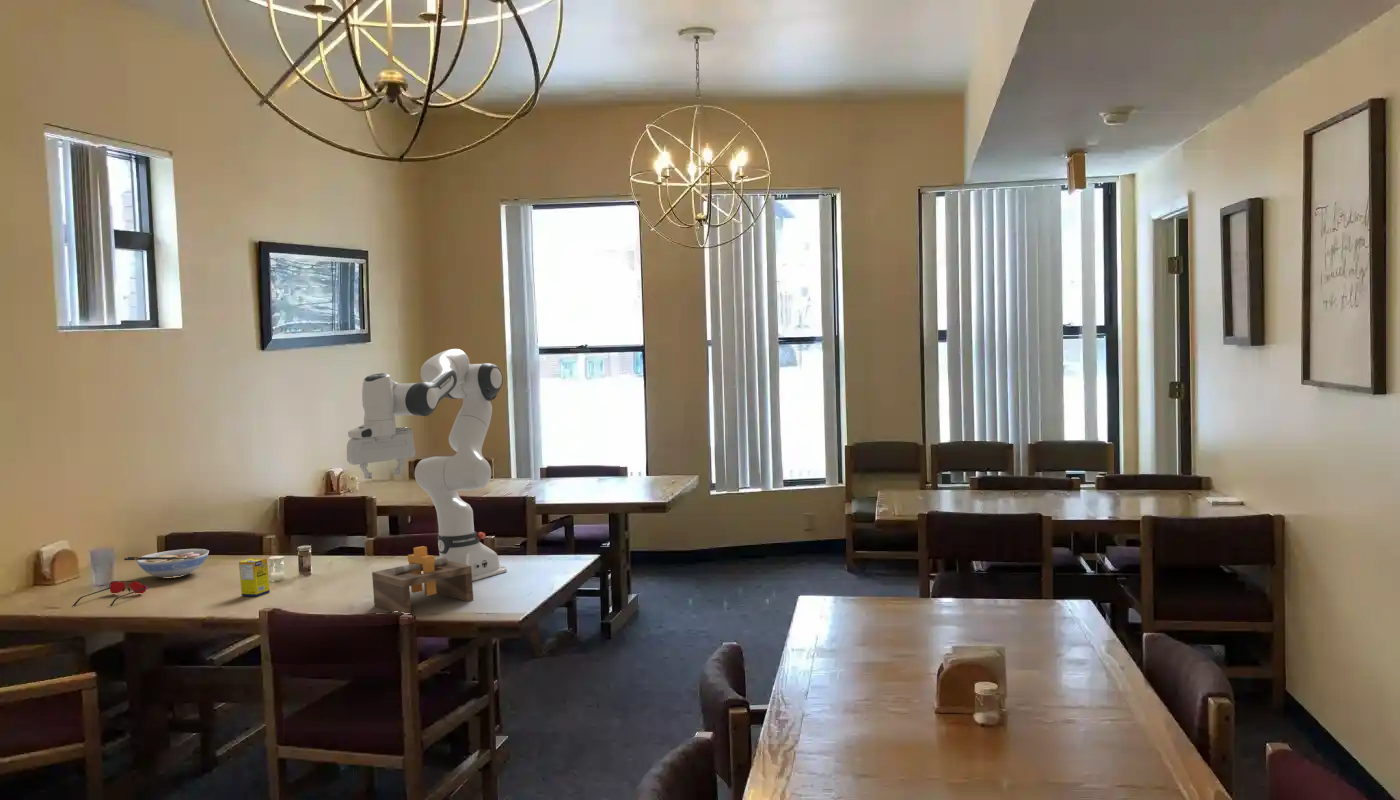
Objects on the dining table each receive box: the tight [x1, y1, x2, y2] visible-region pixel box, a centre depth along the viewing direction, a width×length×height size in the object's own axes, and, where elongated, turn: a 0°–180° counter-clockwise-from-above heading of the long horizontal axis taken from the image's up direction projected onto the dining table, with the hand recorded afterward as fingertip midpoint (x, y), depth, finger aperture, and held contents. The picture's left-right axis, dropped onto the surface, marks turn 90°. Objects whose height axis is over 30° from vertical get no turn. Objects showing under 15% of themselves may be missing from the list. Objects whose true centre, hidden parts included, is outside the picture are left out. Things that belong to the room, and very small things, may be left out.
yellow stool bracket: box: [407, 545, 438, 596], centre depth 320 cm, size 3×10×13 cm, turn 43°
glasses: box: [71, 580, 148, 608], centre depth 344 cm, size 14×16×5 cm
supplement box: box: [238, 557, 271, 597], centre depth 342 cm, size 6×6×11 cm
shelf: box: [371, 557, 474, 614], centre depth 320 cm, size 22×18×12 cm
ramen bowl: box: [123, 548, 210, 578], centre depth 376 cm, size 25×23×8 cm
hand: (383, 476), depth 322 cm, fingers open, 8 cm apart
